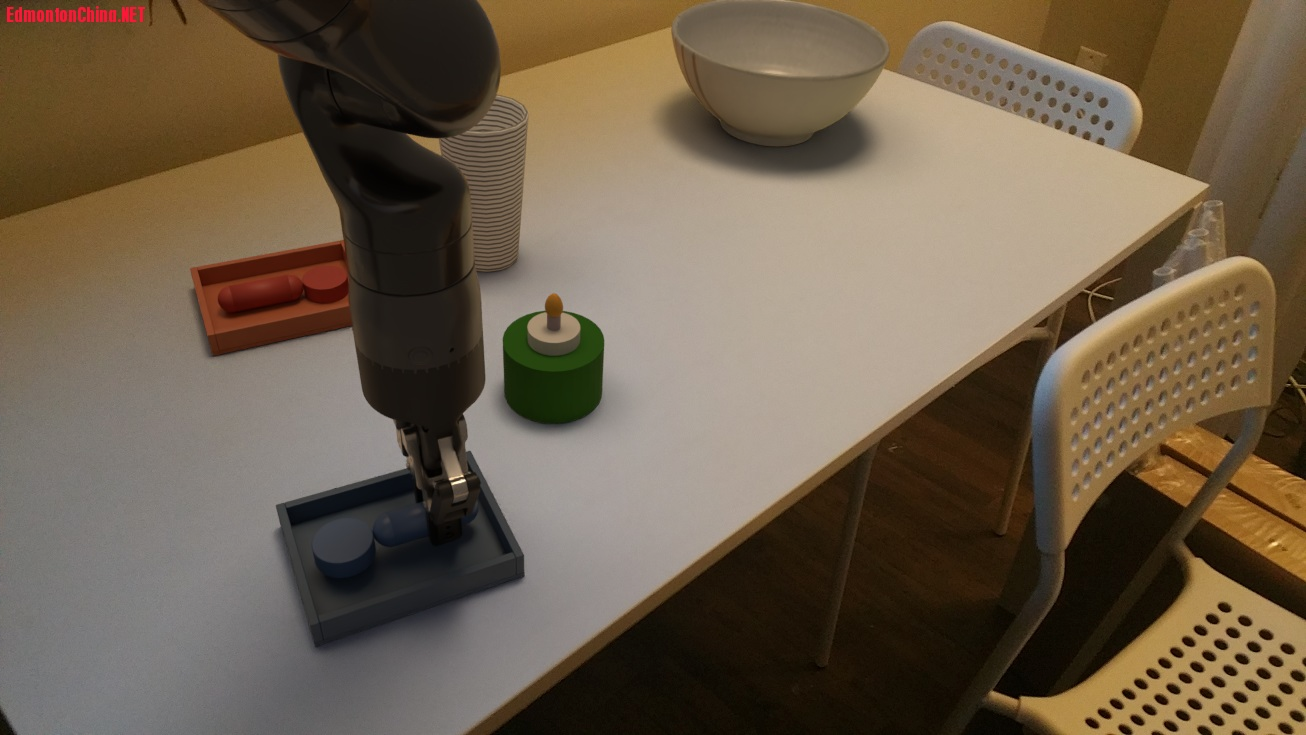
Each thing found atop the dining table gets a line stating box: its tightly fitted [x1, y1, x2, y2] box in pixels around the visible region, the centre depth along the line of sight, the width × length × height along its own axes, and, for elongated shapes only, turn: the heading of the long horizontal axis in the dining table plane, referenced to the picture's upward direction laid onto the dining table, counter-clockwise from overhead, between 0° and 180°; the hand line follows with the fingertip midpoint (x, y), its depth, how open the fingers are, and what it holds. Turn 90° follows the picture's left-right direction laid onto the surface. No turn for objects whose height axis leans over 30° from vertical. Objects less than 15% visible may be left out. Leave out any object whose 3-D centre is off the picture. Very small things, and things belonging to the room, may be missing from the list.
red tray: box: [189, 239, 352, 357], centre depth 90 cm, size 14×11×2 cm
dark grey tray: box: [275, 450, 526, 647], centre depth 69 cm, size 14×11×2 cm
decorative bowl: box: [670, 0, 891, 147], centre depth 124 cm, size 27×27×12 cm
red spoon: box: [218, 266, 349, 312], centre depth 90 cm, size 11×4×2 cm, turn 117°
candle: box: [502, 292, 605, 425], centre depth 81 cm, size 8×8×10 cm
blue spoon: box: [312, 501, 479, 578], centre depth 68 cm, size 11×4×2 cm, turn 117°
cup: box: [438, 94, 530, 273], centre depth 95 cm, size 8×8×16 cm
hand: (439, 523), depth 69 cm, fingers closed on blue spoon, 2 cm apart
